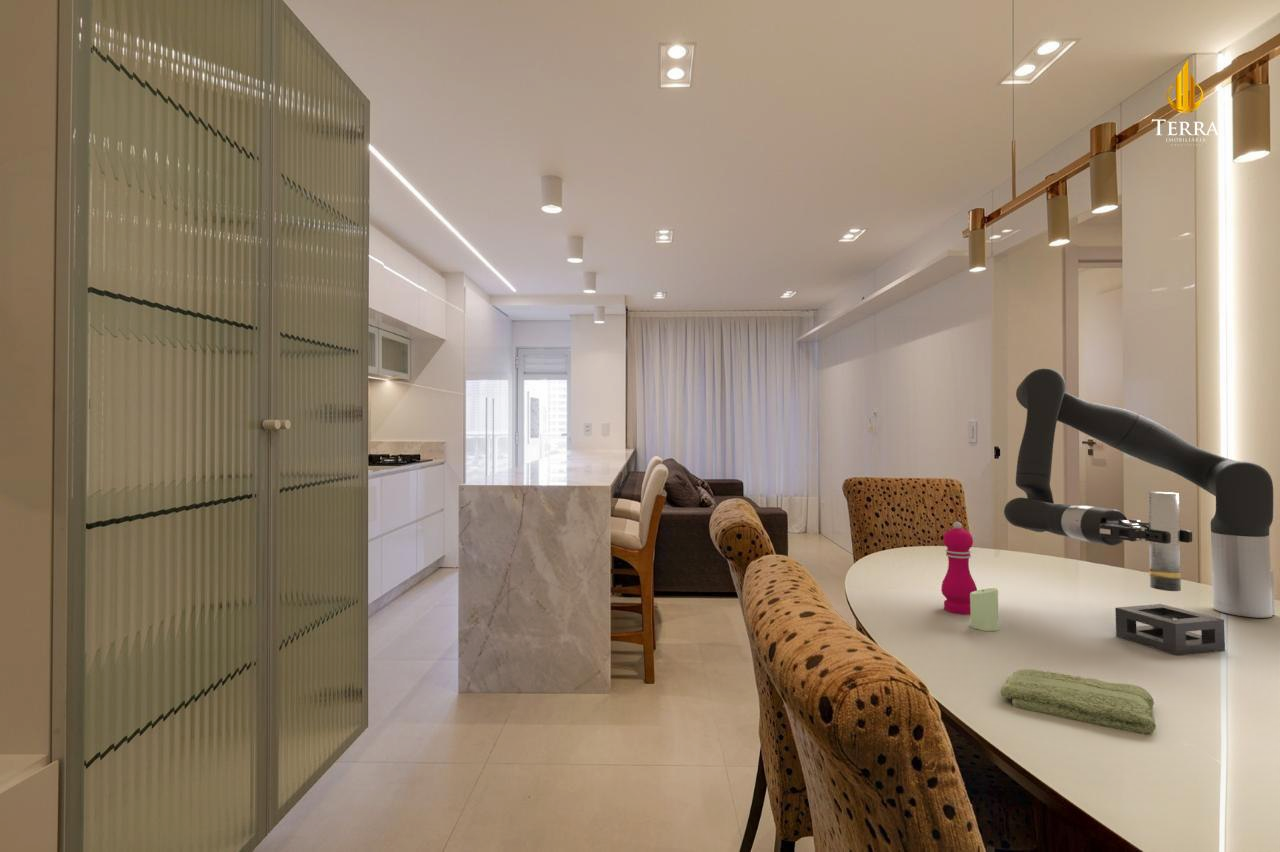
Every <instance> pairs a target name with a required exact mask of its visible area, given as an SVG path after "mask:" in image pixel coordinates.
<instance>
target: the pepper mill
mask: <svg viewBox="0 0 1280 852" xmlns="http://www.w3.org/2000/svg"><path fill="white" fill-rule="evenodd" d="M962 524H963V523H961V522H960V521H955V522H953V525H952V526H953V528H949V529H948V530H946V531H945V532H944V534H943V536H942V537H943V538H942V540H943V541H942V542H943V544H944V545H945V547H947V548H946V550H945V552H946V553H945V555H946V557H947V559H948V560H947V561H948V565H947V570H946V571H947V572H946V573H945V576H944V578H943V580H942V583H941V590H940V591H941V594H942V595H943V597H944V598H945V600H944V601H943V608H944V610H945V611H947V612H948V611H949V612H948V613H953V614H957V615H971V613H970V593H971V592H974V591H977V590H978V588H977V584H976V582H975V581H974V578H973V577H972V574H971V571H970V566H969V561H970V558H971V557H972V555H971V550H970V549H971V547H973V545H974V538H973V536H972V534H971V533H970V532H969V531H968V530H966V529H963V525H962Z"/></svg>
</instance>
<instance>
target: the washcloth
mask: <svg viewBox="0 0 1280 852" xmlns="http://www.w3.org/2000/svg"><path fill="white" fill-rule="evenodd" d="M1000 695H1001V696H1002V697H1005V698H1006V699H1010V700H1011V699H1012V702H1011V703H1012V707H1014V708H1018V709H1022V710H1028V711H1031V712H1037V713H1042V714H1047V715H1049V716H1050V715H1051V716H1055V717H1061V718H1065V719H1069V720H1076V721H1078V722H1084V723H1088V724H1094V725H1098V726H1102V727H1103V726H1104V727H1107V728H1108V727H1109V728H1113V729H1118V730H1122V731H1126V732H1127V731H1129V732H1133V733H1137V734H1141V735H1142V734H1143V735H1144V734H1152V733H1154V731H1155V730H1156V728H1157V725H1156V722H1155V717H1154V712H1153V707H1154V704H1155V703H1154V702H1155V701H1154V698H1153V696H1152V694H1151V693H1150V692H1148V690H1147V689H1145V688H1144V687H1142V686H1140V685H1137V684H1131V683H1118V682H1110V681H1104V680H1100V679H1097V678H1092V677H1091V678H1090V677H1082V676H1079V675H1077V676H1074V675H1072V674H1065V673H1064V674H1063V673H1059V672H1053V671H1044V670H1038V669H1033V668H1022V669H1018V670H1016V671H1014V672H1013V673H1012V675H1011V676H1009V677H1007V679H1006V681H1005V685H1003V686H1001V687H1000Z"/></svg>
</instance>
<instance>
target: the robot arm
mask: <svg viewBox="0 0 1280 852" xmlns="http://www.w3.org/2000/svg"><path fill="white" fill-rule="evenodd" d="M1015 396H1016V400H1017V401H1018V403H1019V404H1020V405H1021V407H1023V408H1025V409H1026V421H1025V427H1024V431H1023V435H1022V439H1021V443H1020V447H1019V449H1018V450H1019V451H1018V456H1017V463H1016V469H1015V470H1016V471H1015V472H1016V473H1015V485H1016V487H1017V488H1019V489H1020V490H1022V491H1023V492H1024V493H1025V494H1026V497H1015V498H1013V499H1010V501H1008V502H1007V503H1006V505H1005V506H1004V509H1003V514H1004V518H1005V519H1006V520H1007V522H1008V523H1009V524H1011V525H1012V526H1015V527H1016V528H1020V529H1025V530H1028V531H1033V532H1036V533H1043V532H1049V533H1050V534H1051V533H1052V534H1053V535H1054V534H1055V535H1058V536H1062V537H1068V538H1069V537H1070V538H1074V539H1076V540H1079V541H1083V542H1089V543H1090V542H1091V543H1094V544H1100V545H1106V546H1112V547H1114V546H1118V545H1120V544H1121V543H1123V542H1124V541H1130V542H1143V543H1145V542H1149V541H1152V542H1158V543H1164V544H1169V543H1170V542H1171V534H1170V532H1167V531H1160V530H1153V529H1149V521H1143V520H1140V519H1134V518H1130V519H1127V517H1126V515H1125V514H1124V513H1123V512H1122V511H1120V510H1118V509H1115V508H1106V507H1100V506H1099V507H1098V506H1092V505H1073V504H1072V505H1071V504H1066V503H1065V504H1064V503H1055V502H1054V496H1053V492H1052V489H1051V475H1052V467H1053V466H1052V464H1053V463H1052V462H1053V453H1054V451H1053V450H1054V442H1055V436H1056V435H1055V433H1056V429H1057V423H1058V422H1060V423H1062V424H1065V425H1067V426H1069V427H1072V428H1074V429H1075V430H1078V431H1080V433H1083V434H1085V435H1087V436H1089V437H1092V438H1094V439H1095V440H1097V441H1099V442H1102V443H1103V444H1106V445H1108V446H1109V447H1110V448H1111V447H1112V448H1113V449H1116V450H1117V451H1120V452H1122V453H1124V454H1127V455H1128V456H1131V457H1134V458H1136V459H1138V460H1140V461H1143V462H1145V463H1148V464H1150V465H1153V466H1156V467H1159V468H1161V469H1163V470H1167V471H1170V472H1172V473H1174V474H1176V475H1178V476H1180V477H1182V478H1184V479H1186V480H1188V481H1189V482H1191V483H1193V484H1195V485H1196V486H1198V487H1200V488H1201V489H1202V490H1204V491H1206V492H1208V493H1209V494H1211V495H1213V496H1214V497H1215V512H1214V516H1213V517H1212V518H1211V520H1210V544H1211V545H1210V547H1211V548H1210V549H1211V572H1212V573H1211V574H1212V576H1211V577H1212V600H1213V601H1212V604H1213V607H1212V608H1213V609H1214V610H1216V611H1218V612H1221V613H1224V614H1229V615H1233V616H1239V617H1247V618H1262V619H1263V618H1264V619H1265V618H1272V617H1273V615H1275V614H1276V610H1275V606H1276V605H1275V585H1274V584H1275V582H1274V581H1275V580H1274V570H1272V567H1271V547H1270V545H1271V544H1270V528H1271V526H1272V523H1273V519H1274V486H1273V485H1274V484H1273V483H1274V482H1273V480H1272V477H1271V475H1270V473H1269V472H1268V470H1267V469H1266V468H1265V467H1263V466H1262V465H1259V464H1257V463H1255V462H1251V461H1244V460H1235V459H1231V458H1227V457H1224V456H1222V455H1218V454H1215V453H1213V452H1210V451H1207V450H1205V449H1203V448H1200V447H1197V446H1195V445H1193V443H1190V442H1189V441H1187V440H1185V439H1184V438H1182V437H1181V436H1180V435H1178V434H1176V433H1175V432H1174V431H1172V430H1170V429H1169V428H1168V427H1165V426H1164V425H1162V424H1160V423H1158V422H1156V421H1155V420H1153V419H1150V418H1148V417H1146V416H1143V415H1141V414H1139V413H1136V412H1134V411H1132V410H1128V409H1125V408H1122V407H1121V408H1120V407H1116V406H1112V405H1107V404H1103V403H1102V404H1101V403H1096V402H1091V401H1088V400H1084V399H1082V398H1079V397H1077V396H1075V395H1073V394H1071V393H1069V392H1067V383H1066V380H1065V378H1064V376H1063V374H1061V373H1060V372H1059V371H1057V370H1055V369H1052V368H1048V367H1045V368H1044V367H1042V368H1041V367H1040V368H1038V369H1035V370H1033V371H1031V372H1030V373H1029V374H1027V375H1026V376H1025V378H1023V380H1022V381H1021V382H1020V384H1019V385H1018V386H1017V388H1016V392H1015ZM1192 542H1193V532H1192V531H1191V530H1188V529H1180V543H1187V544H1188V543H1189V544H1190V543H1192Z"/></svg>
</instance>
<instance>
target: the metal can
mask: <svg viewBox="0 0 1280 852" xmlns="http://www.w3.org/2000/svg"><path fill="white" fill-rule="evenodd" d="M1147 494H1148V522H1149V529H1153V530H1160V531H1167V532H1170V534H1171V542H1170V543H1169V544H1164V543H1158V542H1152V541H1148V543H1149V546H1148V547H1149V548H1148V549H1149V551H1148V553H1149V569H1148V575H1149V587H1150V588H1152V589H1155V590H1160V591H1165V592H1181V591H1182V582H1181V581H1182V569H1181V542H1180V528H1181V527H1180V526H1181V524H1180V523H1181V522H1180V521H1181V520H1180V515H1181V514H1180V493H1179V492H1171V491H1148V493H1147Z"/></svg>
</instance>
